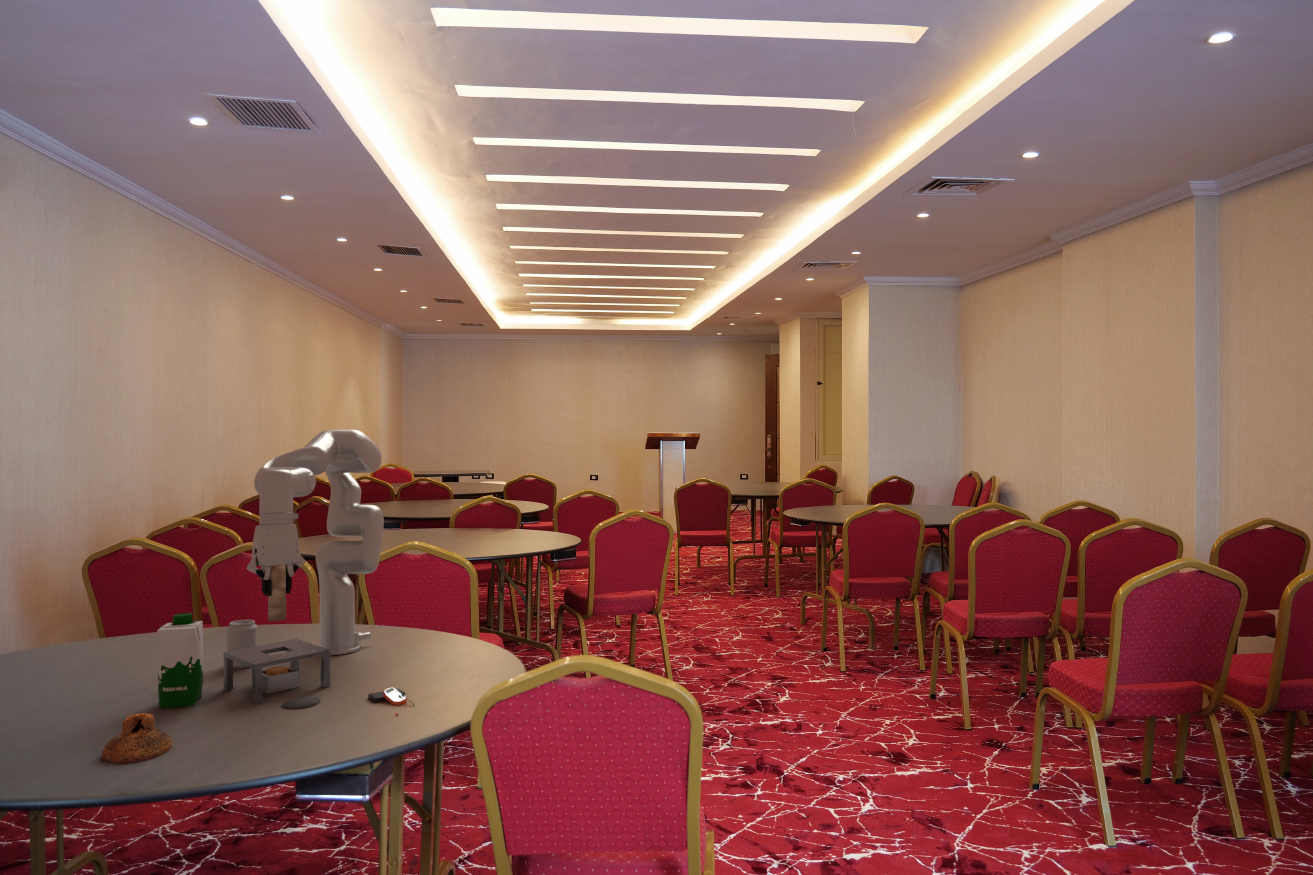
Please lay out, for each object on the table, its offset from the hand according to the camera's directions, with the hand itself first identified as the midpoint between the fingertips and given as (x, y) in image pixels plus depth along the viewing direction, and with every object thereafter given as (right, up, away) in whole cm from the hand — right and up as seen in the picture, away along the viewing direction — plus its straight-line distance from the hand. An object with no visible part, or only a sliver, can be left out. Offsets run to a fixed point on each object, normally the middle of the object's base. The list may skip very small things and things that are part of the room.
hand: (276, 593), depth 204 cm
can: (-19, -24, +21) cm, 37 cm away
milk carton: (-17, -23, -12) cm, 31 cm away
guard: (0, -23, 0) cm, 23 cm away
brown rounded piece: (-8, -23, -43) cm, 49 cm away
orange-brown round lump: (0, -23, 0) cm, 23 cm away
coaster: (+12, -23, -13) cm, 29 cm away
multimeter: (+35, -23, -14) cm, 44 cm away
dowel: (0, -6, 0) cm, 6 cm away
